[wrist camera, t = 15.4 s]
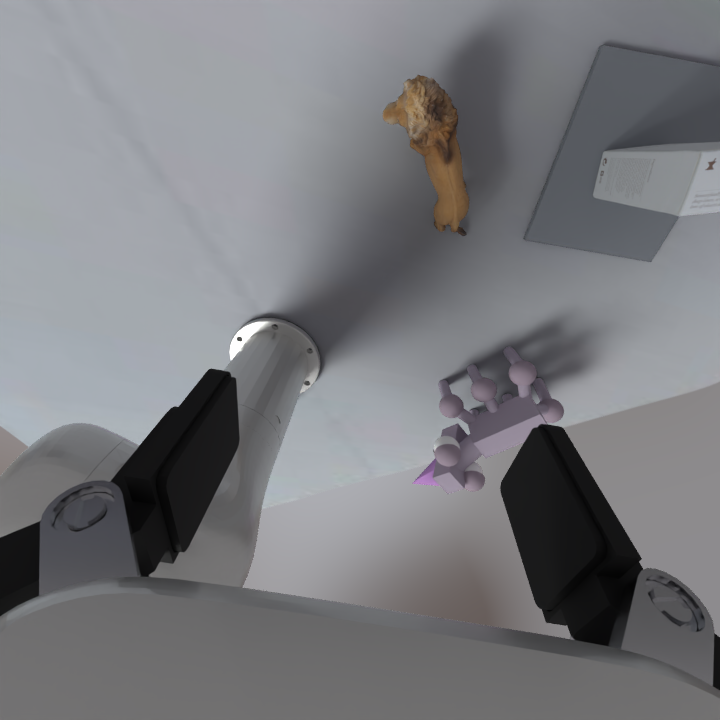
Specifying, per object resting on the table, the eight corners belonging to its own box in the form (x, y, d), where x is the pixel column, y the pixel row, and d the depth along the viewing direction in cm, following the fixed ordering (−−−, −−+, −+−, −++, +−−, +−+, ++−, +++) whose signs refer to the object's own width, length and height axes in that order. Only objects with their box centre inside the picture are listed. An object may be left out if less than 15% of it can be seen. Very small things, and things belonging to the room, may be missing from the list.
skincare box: (590, 199, 35) (673, 223, 25) (602, 147, 32) (699, 149, 22) (657, 192, 34) (771, 214, 24) (674, 138, 32) (808, 137, 21)
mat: (647, 260, 38) (650, 262, 38) (523, 238, 38) (525, 240, 37) (759, 76, 29) (765, 75, 29) (599, 46, 29) (603, 44, 29)
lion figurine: (378, 109, 33) (374, 99, 25) (429, 71, 31) (442, 48, 23) (442, 245, 39) (455, 271, 31) (489, 220, 37) (514, 240, 30)
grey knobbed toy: (427, 445, 56) (434, 521, 44) (389, 400, 52) (385, 470, 40) (551, 388, 48) (598, 462, 36) (515, 332, 44) (556, 393, 33)
